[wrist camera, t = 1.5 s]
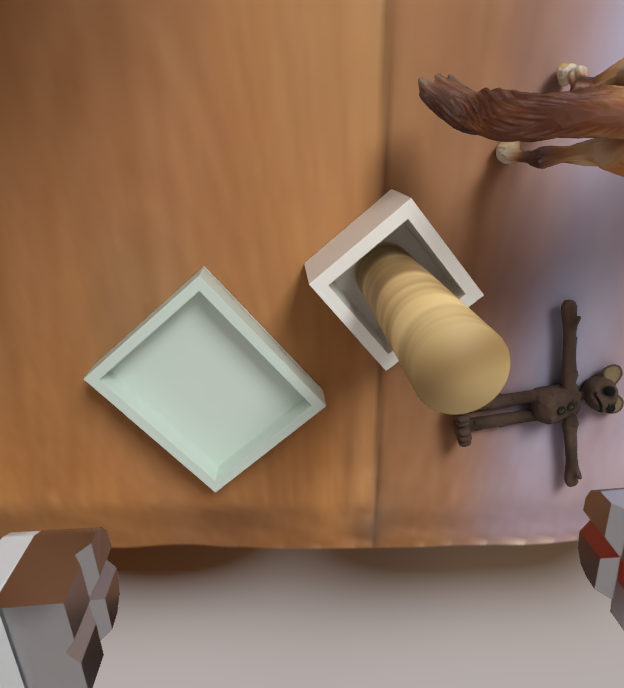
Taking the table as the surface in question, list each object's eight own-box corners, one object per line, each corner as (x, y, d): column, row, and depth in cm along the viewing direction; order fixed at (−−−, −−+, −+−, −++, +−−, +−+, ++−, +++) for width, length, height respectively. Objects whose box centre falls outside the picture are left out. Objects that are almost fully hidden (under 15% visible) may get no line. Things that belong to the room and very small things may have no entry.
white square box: (304, 263, 41) (308, 284, 35) (391, 188, 39) (411, 197, 33) (371, 340, 43) (386, 371, 38) (456, 273, 42) (483, 295, 36)
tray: (95, 363, 42) (83, 378, 40) (204, 265, 40) (199, 275, 38) (218, 472, 47) (215, 492, 44) (323, 390, 45) (326, 406, 42)
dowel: (342, 268, 40) (391, 367, 23) (389, 230, 39) (474, 302, 22) (378, 311, 41) (448, 431, 25) (424, 274, 40) (528, 373, 24)
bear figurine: (448, 332, 41) (648, 299, 39) (437, 313, 44) (619, 282, 43) (468, 519, 47) (639, 496, 46) (457, 488, 51) (614, 466, 50)
